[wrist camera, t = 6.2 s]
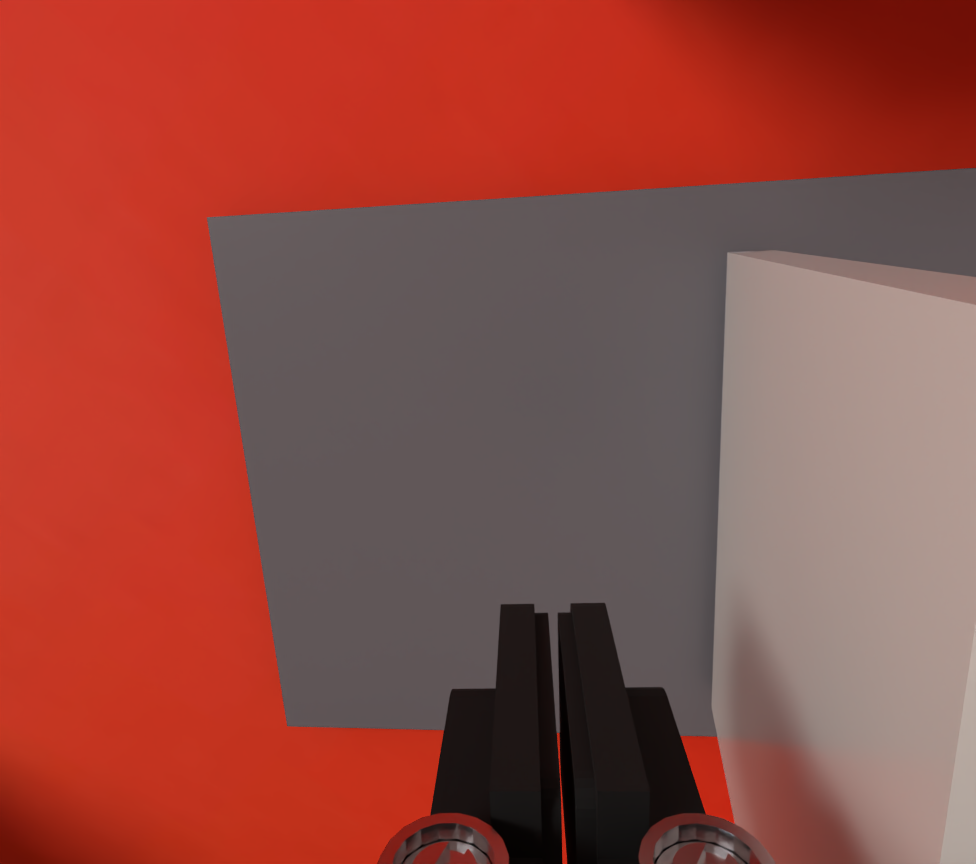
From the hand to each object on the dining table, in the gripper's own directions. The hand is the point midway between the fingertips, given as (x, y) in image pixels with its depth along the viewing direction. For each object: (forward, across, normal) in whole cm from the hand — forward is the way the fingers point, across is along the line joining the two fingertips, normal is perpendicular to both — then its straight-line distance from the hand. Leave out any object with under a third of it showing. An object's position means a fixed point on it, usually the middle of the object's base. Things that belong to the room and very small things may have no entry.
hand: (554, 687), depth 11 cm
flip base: (+9, -5, 0) cm, 10 cm away
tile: (+1, -4, 0) cm, 4 cm away
